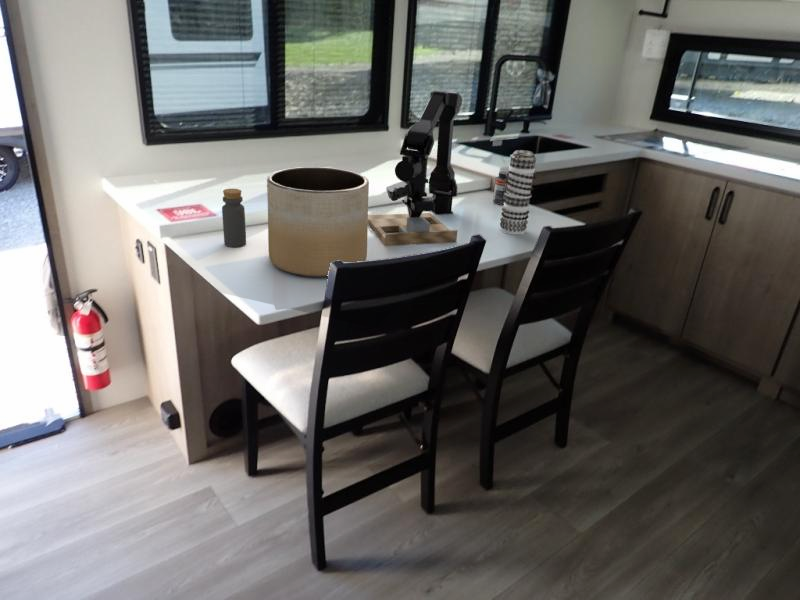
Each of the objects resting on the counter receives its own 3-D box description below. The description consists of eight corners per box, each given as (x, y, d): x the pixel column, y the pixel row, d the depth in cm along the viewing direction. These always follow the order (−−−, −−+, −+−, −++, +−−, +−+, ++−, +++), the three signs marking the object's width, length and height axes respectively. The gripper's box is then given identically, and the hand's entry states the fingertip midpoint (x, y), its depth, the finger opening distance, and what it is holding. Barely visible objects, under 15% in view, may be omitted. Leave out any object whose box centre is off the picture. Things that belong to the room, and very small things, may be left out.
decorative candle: (531, 235, 185) (544, 155, 174) (503, 235, 183) (514, 154, 173) (521, 226, 193) (533, 149, 182) (494, 225, 192) (505, 148, 181)
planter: (299, 238, 169) (298, 162, 160) (380, 254, 162) (384, 175, 152) (249, 268, 147) (245, 181, 138) (341, 288, 140) (343, 198, 131)
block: (421, 229, 177) (423, 216, 175) (428, 236, 172) (430, 223, 170) (406, 230, 175) (407, 217, 174) (412, 237, 170) (413, 224, 169)
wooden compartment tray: (429, 218, 194) (430, 208, 192) (456, 242, 175) (457, 230, 173) (365, 221, 187) (365, 210, 186) (385, 246, 168) (386, 234, 166)
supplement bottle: (500, 199, 221) (504, 169, 216) (512, 203, 217) (516, 173, 212) (489, 201, 217) (493, 171, 212) (501, 206, 213) (505, 175, 208)
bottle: (226, 240, 164) (223, 187, 158) (248, 240, 165) (245, 188, 158) (222, 247, 159) (218, 193, 153) (244, 248, 160) (241, 194, 153)
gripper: (381, 166, 176) (378, 216, 183) (400, 183, 160) (396, 237, 167) (416, 166, 179) (412, 215, 186) (438, 182, 164) (432, 235, 170)
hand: (412, 225), depth 177 cm, fingers closed
